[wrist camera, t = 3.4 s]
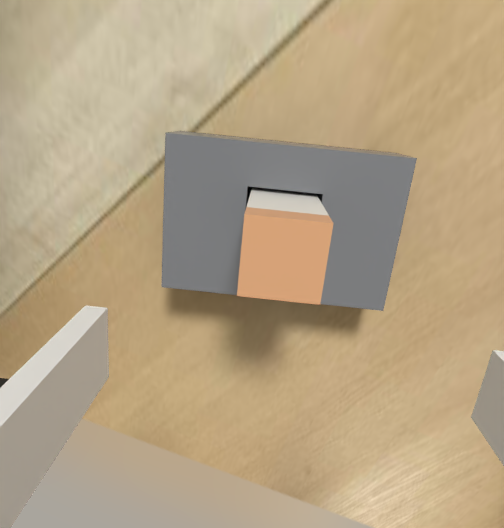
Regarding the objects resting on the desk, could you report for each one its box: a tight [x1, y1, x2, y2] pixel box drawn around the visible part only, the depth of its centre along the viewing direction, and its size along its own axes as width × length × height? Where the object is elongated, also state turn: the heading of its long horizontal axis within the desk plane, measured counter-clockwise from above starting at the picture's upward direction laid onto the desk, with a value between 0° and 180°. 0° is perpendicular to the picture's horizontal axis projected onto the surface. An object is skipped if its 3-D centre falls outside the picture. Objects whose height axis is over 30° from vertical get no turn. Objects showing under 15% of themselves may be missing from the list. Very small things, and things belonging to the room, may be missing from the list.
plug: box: [237, 187, 334, 305], centre depth 30 cm, size 5×5×12 cm
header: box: [162, 131, 417, 311], centre depth 34 cm, size 18×12×5 cm, turn 84°
